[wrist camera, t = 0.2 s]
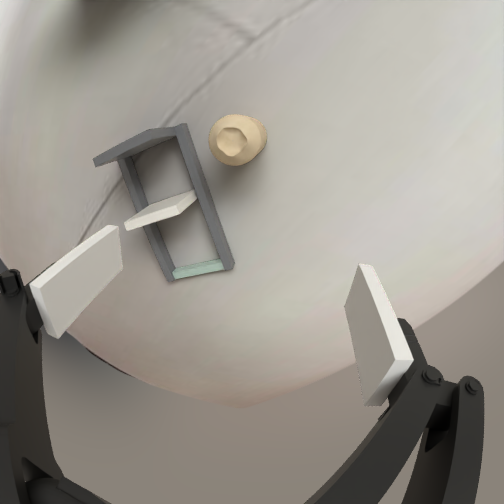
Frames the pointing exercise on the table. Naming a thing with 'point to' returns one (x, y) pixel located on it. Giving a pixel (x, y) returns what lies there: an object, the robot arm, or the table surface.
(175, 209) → the plate
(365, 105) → the table surface
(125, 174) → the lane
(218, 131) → the candle
